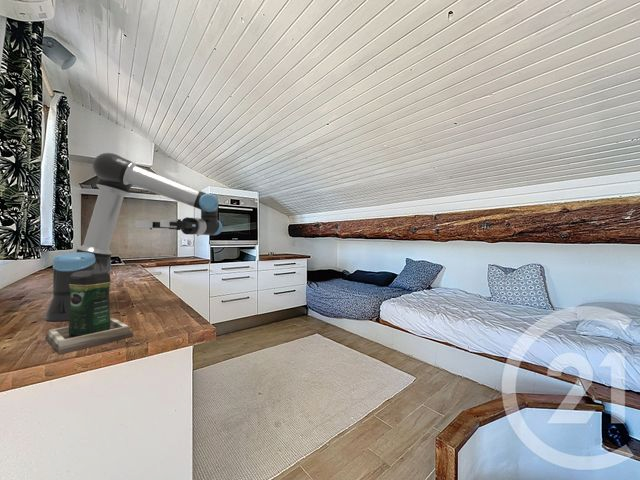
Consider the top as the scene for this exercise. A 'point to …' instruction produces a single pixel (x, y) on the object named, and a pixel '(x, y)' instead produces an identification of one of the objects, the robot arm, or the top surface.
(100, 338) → the board
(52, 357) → the top surface
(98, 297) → the coffee jar
